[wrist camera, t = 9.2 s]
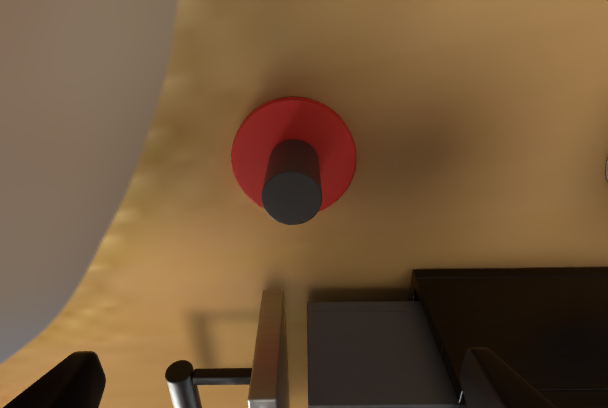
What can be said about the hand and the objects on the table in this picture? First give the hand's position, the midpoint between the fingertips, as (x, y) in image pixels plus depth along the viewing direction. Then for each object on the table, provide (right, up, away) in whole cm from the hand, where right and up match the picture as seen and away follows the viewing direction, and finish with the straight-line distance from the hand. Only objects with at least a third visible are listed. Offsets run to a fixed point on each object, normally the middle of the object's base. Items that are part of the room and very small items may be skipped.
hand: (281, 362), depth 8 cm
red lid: (0, +6, +11) cm, 12 cm away
